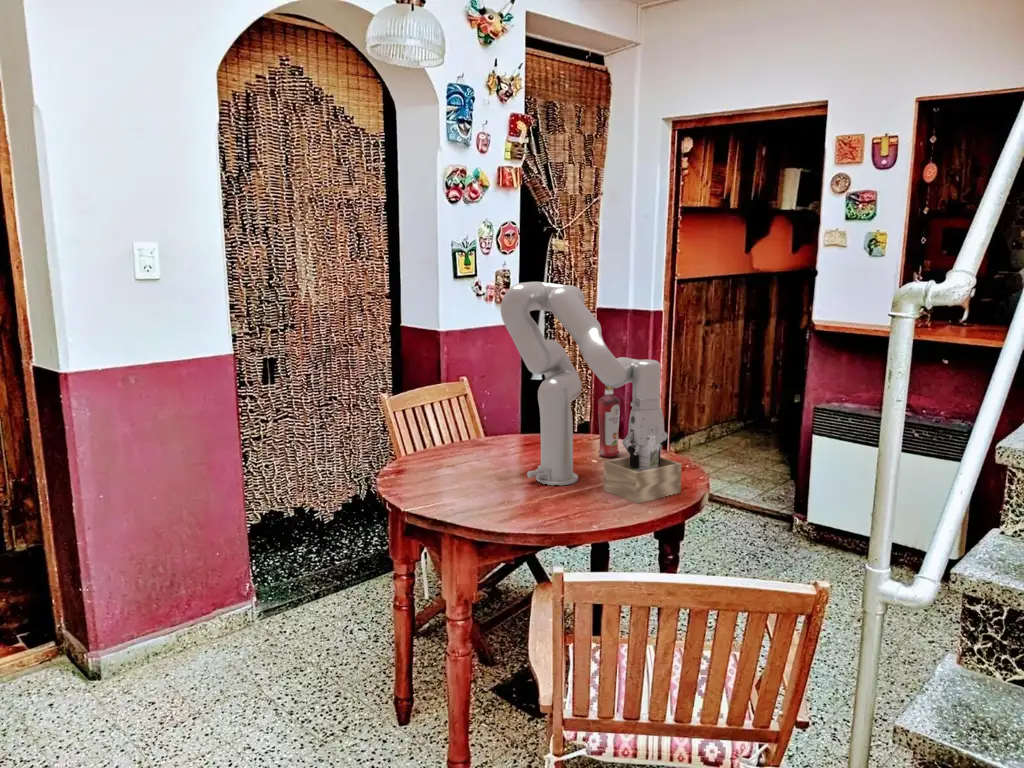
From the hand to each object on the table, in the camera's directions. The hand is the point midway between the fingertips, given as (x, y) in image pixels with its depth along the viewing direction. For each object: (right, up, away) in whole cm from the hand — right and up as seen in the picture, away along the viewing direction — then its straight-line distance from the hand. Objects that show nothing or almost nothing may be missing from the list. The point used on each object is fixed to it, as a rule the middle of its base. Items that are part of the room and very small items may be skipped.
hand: (644, 465), depth 211 cm
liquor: (-5, -1, +37) cm, 38 cm away
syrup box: (0, -5, +1) cm, 5 cm away
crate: (-1, -7, -1) cm, 8 cm away
